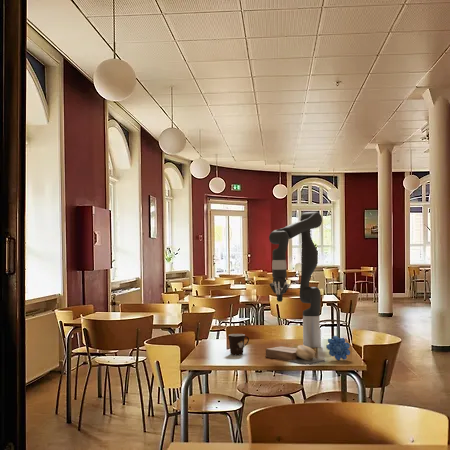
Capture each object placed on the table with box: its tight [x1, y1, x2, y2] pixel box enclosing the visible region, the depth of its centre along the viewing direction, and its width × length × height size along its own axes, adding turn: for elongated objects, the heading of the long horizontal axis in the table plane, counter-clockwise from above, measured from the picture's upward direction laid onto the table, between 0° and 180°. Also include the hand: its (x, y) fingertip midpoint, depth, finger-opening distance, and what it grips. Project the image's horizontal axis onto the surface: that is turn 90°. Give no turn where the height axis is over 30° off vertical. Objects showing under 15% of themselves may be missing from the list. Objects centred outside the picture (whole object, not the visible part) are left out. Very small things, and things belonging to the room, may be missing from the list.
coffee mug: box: [228, 333, 250, 356], centre depth 329 cm, size 12×9×10 cm
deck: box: [265, 345, 300, 362], centre depth 318 cm, size 12×18×4 cm, turn 42°
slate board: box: [289, 357, 326, 365], centre depth 306 cm, size 13×11×1 cm
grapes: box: [326, 335, 351, 361], centre depth 309 cm, size 12×7×12 cm, turn 82°
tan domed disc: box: [296, 344, 316, 360], centre depth 308 cm, size 9×9×3 cm
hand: (279, 301), depth 333 cm, fingers closed
